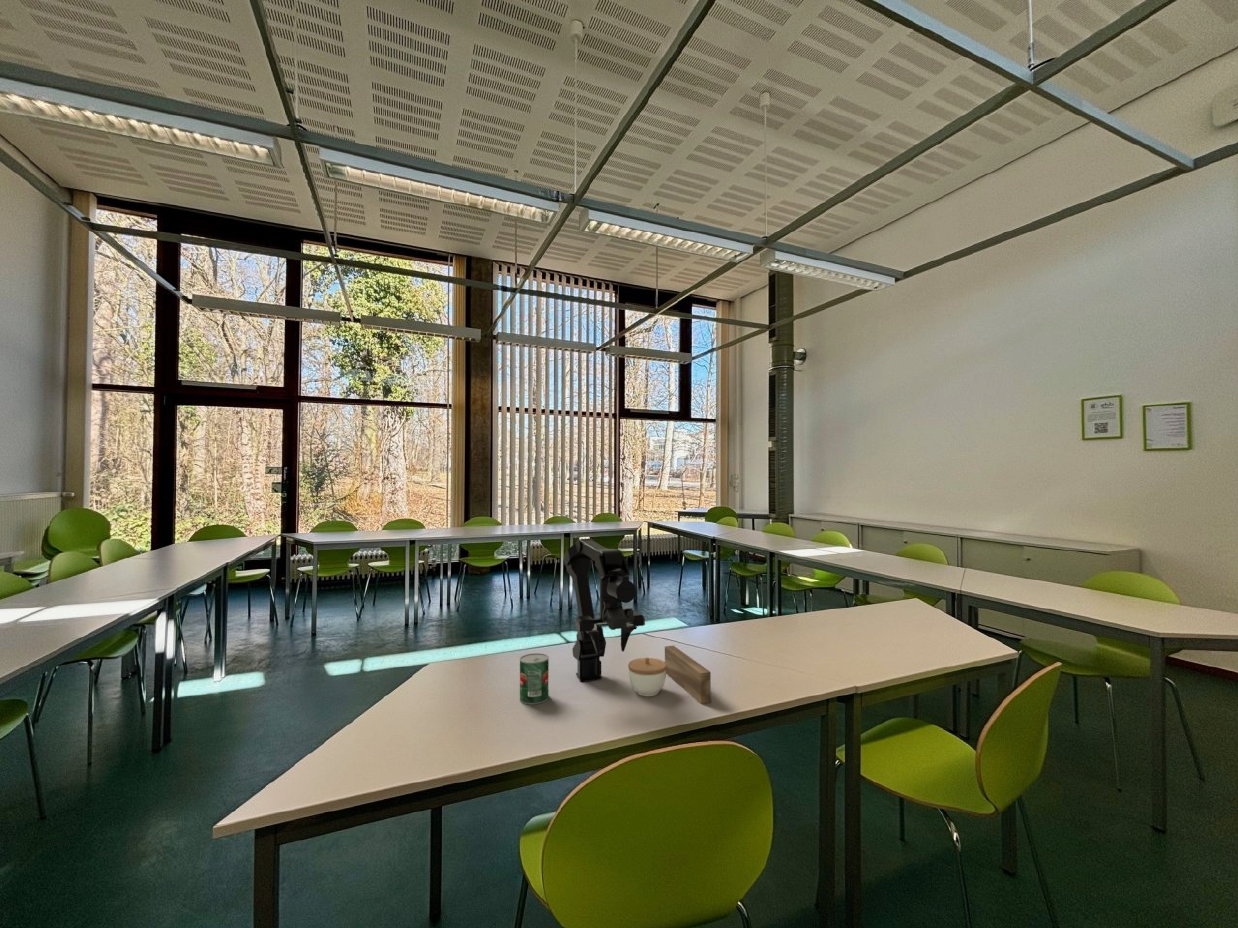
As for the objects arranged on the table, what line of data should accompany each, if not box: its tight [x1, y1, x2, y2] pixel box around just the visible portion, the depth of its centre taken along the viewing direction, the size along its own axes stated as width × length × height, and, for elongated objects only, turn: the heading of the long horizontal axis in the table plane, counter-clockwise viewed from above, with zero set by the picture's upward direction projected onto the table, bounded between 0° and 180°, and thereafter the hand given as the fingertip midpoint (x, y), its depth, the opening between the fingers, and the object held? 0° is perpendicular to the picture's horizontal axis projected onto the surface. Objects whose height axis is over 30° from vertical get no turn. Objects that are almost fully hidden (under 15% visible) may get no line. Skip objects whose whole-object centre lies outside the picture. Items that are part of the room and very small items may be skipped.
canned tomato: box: [519, 652, 550, 705], centre depth 138 cm, size 8×8×11 cm
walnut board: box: [664, 645, 712, 705], centre depth 145 cm, size 3×24×8 cm, turn 18°
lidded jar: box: [627, 657, 667, 697], centre depth 141 cm, size 11×11×9 cm
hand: (610, 652), depth 139 cm, fingers open, 7 cm apart
